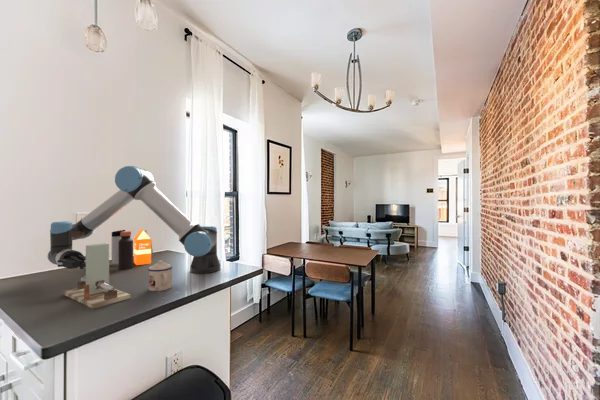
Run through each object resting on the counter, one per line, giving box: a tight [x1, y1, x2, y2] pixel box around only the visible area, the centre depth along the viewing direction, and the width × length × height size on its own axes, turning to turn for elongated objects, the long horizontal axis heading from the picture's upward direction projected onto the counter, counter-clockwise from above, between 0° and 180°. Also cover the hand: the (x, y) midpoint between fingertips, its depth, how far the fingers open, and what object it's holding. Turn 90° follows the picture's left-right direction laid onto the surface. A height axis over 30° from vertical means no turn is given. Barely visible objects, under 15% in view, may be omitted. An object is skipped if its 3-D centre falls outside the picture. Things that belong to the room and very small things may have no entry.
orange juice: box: [133, 228, 152, 266], centre depth 165 cm, size 8×9×20 cm
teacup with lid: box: [148, 259, 173, 292], centre depth 116 cm, size 12×9×12 cm
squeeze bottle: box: [144, 229, 154, 257], centre depth 178 cm, size 8×8×18 cm
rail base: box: [63, 281, 131, 309], centre depth 107 cm, size 26×12×6 cm, turn 57°
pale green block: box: [85, 242, 110, 295], centre depth 107 cm, size 4×6×18 cm, turn 147°
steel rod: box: [80, 275, 115, 292], centre depth 107 cm, size 24×2×2 cm, turn 57°
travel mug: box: [111, 229, 126, 267], centre depth 161 cm, size 6×7×20 cm
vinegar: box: [118, 230, 134, 271], centre depth 152 cm, size 7×7×20 cm
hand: (93, 265), depth 108 cm, fingers closed
